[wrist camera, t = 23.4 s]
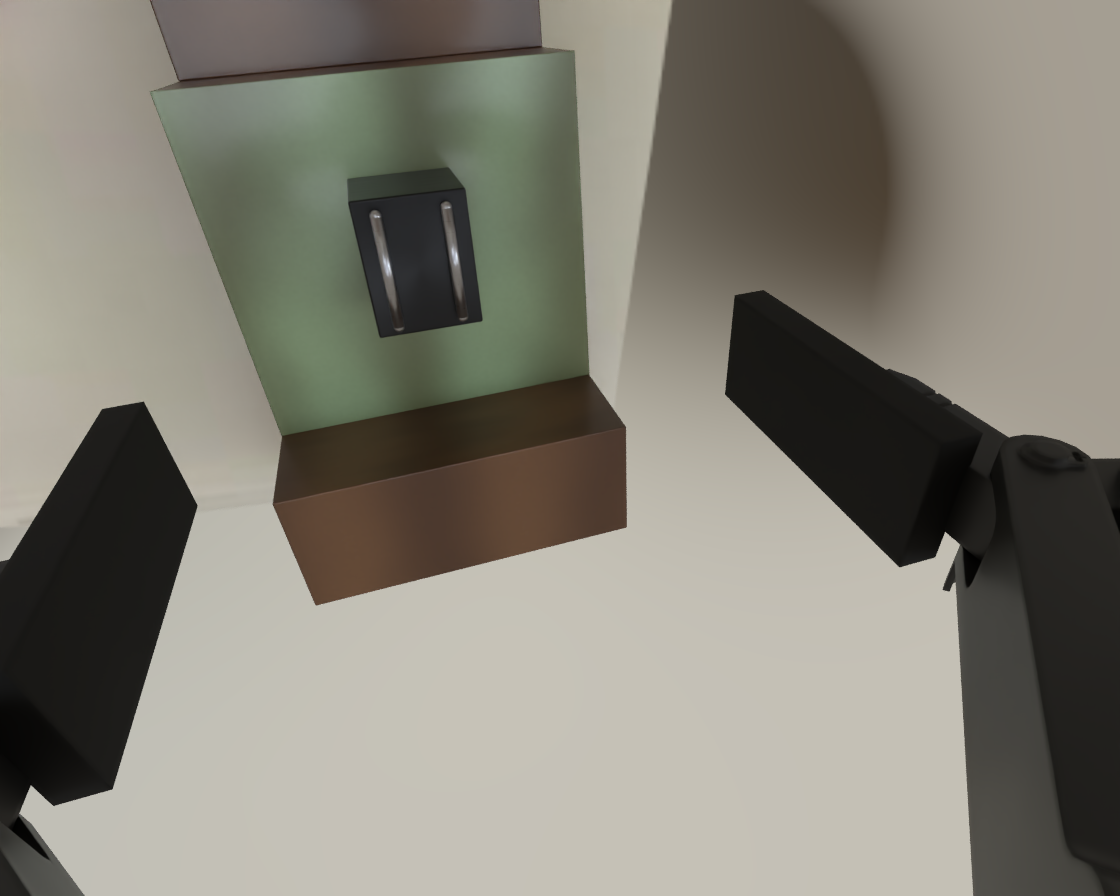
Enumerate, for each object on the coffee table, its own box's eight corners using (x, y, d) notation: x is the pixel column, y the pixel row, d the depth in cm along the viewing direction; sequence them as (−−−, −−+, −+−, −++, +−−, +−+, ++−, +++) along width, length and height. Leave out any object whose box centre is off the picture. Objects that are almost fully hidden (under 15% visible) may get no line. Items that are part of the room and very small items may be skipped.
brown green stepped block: (512, -122, 27) (620, -212, 17) (555, 402, 42) (627, 527, 31) (129, -106, 24) (-29, -203, 14) (321, 451, 39) (315, 606, 29)
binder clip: (449, 166, 25) (468, 190, 22) (467, 288, 28) (485, 327, 24) (346, 178, 24) (347, 205, 21) (375, 302, 27) (380, 344, 24)
